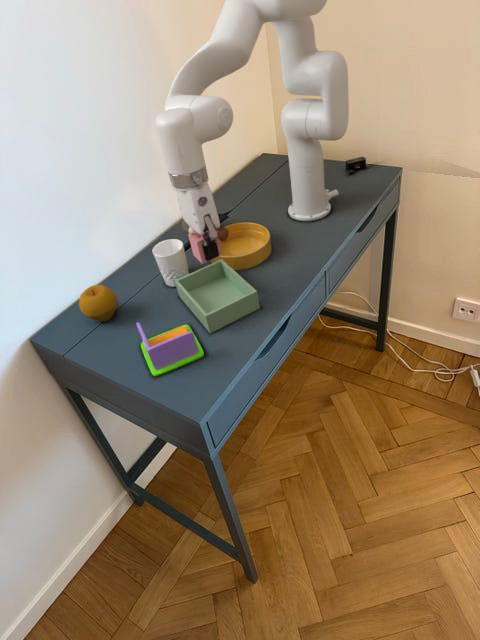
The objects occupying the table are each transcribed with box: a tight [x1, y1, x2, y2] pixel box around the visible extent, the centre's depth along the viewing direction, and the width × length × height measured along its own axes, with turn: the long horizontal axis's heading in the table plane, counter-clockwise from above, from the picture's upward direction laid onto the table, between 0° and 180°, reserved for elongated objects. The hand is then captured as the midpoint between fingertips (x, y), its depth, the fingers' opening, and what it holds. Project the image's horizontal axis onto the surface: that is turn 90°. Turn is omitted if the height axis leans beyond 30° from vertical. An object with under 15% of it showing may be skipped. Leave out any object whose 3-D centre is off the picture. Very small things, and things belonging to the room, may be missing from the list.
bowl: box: [210, 222, 273, 271], centre depth 125 cm, size 17×17×4 cm
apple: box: [78, 284, 118, 322], centre depth 112 cm, size 9×9×9 cm
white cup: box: [152, 238, 190, 288], centre depth 119 cm, size 8×8×10 cm
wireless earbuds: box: [345, 156, 367, 175], centre depth 152 cm, size 5×7×3 cm, turn 102°
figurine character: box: [181, 212, 230, 241], centre depth 133 cm, size 7×8×15 cm
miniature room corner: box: [135, 321, 205, 377], centre depth 99 cm, size 12×12×7 cm
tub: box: [175, 259, 261, 334], centre depth 110 cm, size 13×17×5 cm
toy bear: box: [187, 226, 222, 265], centre depth 100 cm, size 5×5×10 cm
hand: (207, 252), depth 103 cm, fingers closed on toy bear, 4 cm apart
